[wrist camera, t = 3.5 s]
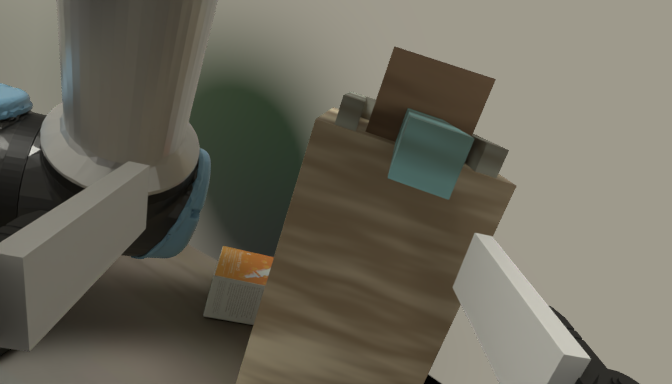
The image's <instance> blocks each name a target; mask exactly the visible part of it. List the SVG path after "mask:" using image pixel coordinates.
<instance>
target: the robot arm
mask: <svg viewBox="0 0 672 384" xmlns="http://www.w3.org/2000/svg"><path fill="white" fill-rule="evenodd" d="M56 2H57V18H58V34H59V52H60V68H61V85H62V102H61V103H59V104H58V105H57V106H55V107H54V108H53V109H52V110H51V111H50V112H49V113H48V115H42V114H38V113H34V112H32V111H31V109H32V106H33V104H32V102H31V101H30V97H29V95H28V94H27V93H26V92H25V91H23V90H21V89H19V88H13V87H11V86H8V85H5V84H1V83H0V355H2V354H3V353H5V352H6V351H7V350H9V349H14V350H21V351H27V352H30V351H31V350H32V349H33V348H34V347H35V346H36V344H37V343H38V342H39V341H40V340H41V339H42V338H43V337H44V336H45V335H46V334H47V333H48V332H49V331H50V330H51V329H52V328H53V327H54V325H55V324H56V323H57V322H58V321H59V320H60V319H61V318H62V317H63V316H64V315H65V314H66V313H67V312H68V311H69V310H70V309H71V307H72V306H73V305H74V304H75V303H76V302H77V301H78V300H79V299H80V298H81V297H82V296H83V295H84V294H85V293H86V292H87V291H88V289H89V288H90V287H91V286H92V285H93V284H94V283H95V282H96V281H97V280H98V279H99V278H100V277H101V276H102V275H103V274H104V273H105V271H106V270H107V269H108V268H109V267H110V266H111V265H112V264H113V263H114V262H115V261H116V260H117V259H118V258H119V257H120V256H121V255H125V256H131V257H132V258H136V259H144V258H147V257H148V258H170V257H173V256H176V255H177V254H179V253H180V252H181V251H182V250H183V249H184V248H185V247H186V246H187V244H188V243H189V241H190V239H191V237H192V235H193V233H194V231H195V229H196V226H197V224H198V221H199V213H200V211H201V209H202V208H203V205H204V202H205V198H206V195H207V190H208V186H209V180H210V169H211V161H210V157H209V154H208V153H207V152H206V151H205V150H203V149H200V147H199V142H198V138H197V135H196V133H195V131H194V129H193V127H192V126H191V125H190V123H189V122H188V121H189V117H190V113H191V108H192V105H193V100H194V96H195V92H196V88H197V84H198V80H199V75H200V71H201V67H202V63H203V59H204V55H205V50H206V47H207V42H208V38H209V34H210V30H211V26H212V22H213V17H214V13H215V9H216V5H217V0H56ZM453 290H454V292H455V294H456V296H457V298H458V300H459V302H460V304H461V306H462V308H463V310H464V312H465V314H466V316H467V318H468V320H469V322H470V324H471V326H472V329H473V331H474V333H475V335H476V337H477V339H478V341H479V343H480V345H481V346H482V349H483V351H484V353H485V355H486V357H487V359H488V361H489V363H490V366H491V368H492V369H493V372H494V373H495V376H496V378H497V380H498V382H499V384H639V383H638V382H636V381H635V380H633V379H632V378H630V377H628V376H626V375H624V374H622V373H620V372H618V371H614V370H610V369H607V368H606V366H605V365H604V364H603V363H602V362H601V360H600V359H599V358H598V357H597V356H596V354H595V353H594V352H593V351H592V350H591V348H590V347H589V346H588V345H587V344H586V342H585V341H584V340H582V338H581V336H580V335H579V334H578V333H577V332H576V331H574V328H573V327H572V326H571V325H570V323H569V322H568V321H567V320H566V318H565V317H563V316H562V315H561V314H560V313H559V312H557V311H556V310H555V309H554V308H552V307H551V306H548V305H547V304H546V302H545V301H544V300H543V299H542V298H541V296H540V295H539V294H538V293H537V291H536V290H535V289H534V288H533V286H532V285H531V284H530V283H529V281H528V280H527V279H526V278H525V276H524V275H523V274H522V273H521V271H520V270H519V269H518V268H517V267H516V265H515V264H514V263H513V262H512V260H511V259H510V258H509V257H508V255H507V254H506V253H505V252H504V250H503V249H502V248H501V247H500V245H499V244H498V243H497V242H496V241H495V239H494V238H493V237H492V236H489V235H484V234H479V233H474V236H473V238H472V241H471V243H470V245H469V248H468V250H467V253H466V255H465V258H464V260H463V263H462V265H461V268H460V270H459V273H458V275H457V277H456V280H455V282H454V285H453Z"/></svg>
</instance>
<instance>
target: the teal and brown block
mask: <svg viewBox="0 0 672 384" xmlns="http://www.w3.org/2000/svg"><path fill="white" fill-rule="evenodd" d="M494 82H495V79H493V78H490V77H487V76H484V75H481V74H478V73H474V72H471V71H468V70H465V69H462V68H459V67H456V66H453V65H450V64H447V63H443V62H441V61H437V60H434V59H431V58H428V57H425V56H422V55H419V54H416V53H413V52H410V51H406V50H404V49H400V48H398V47H394V49H393V52H392V55H391V58H390V61H389V64H388V67H387V70H386V73H385V76H384V79H383V82H382V85H381V88H380V91H379V93H378V96H377V99H376V102H375V105H374V108H373V111H372V114H371V117H370V120H369V123H368V125H367V128H366V131H365V132H368V133H371V134H374V135H376V136H379V137H382V138H385V139H388V140H391V141H394V142H395V146H394V150H393V155H392V160H391V164H390V169H389V174H388V179H391V180H394V181H397V182H400V183H403V184H405V185H408V186H411V187H414V188H417V189H419V190H422V191H425V192H428V193H431V194H434V195H436V196H439V197H442V198H445V199H448V200H449V198H450V196H451V193H452V191H453V189H454V186H455V184H456V182H457V179H458V177H459V175H460V172H461V170H462V167H463V165H464V163H465V160H466V158H467V156H468V153H469V151H470V149H471V146H472V144H473V142H474V139H475V138H473V137H472V134H473V132H474V129H475V127H476V125H477V122H478V120H479V117H480V115H481V113H482V110H483V108H484V106H485V103H486V101H487V99H488V96H489V94H490V91H491V89H492V87H493V84H494Z"/></svg>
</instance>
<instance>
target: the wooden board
mask: <svg viewBox="0 0 672 384" xmlns="http://www.w3.org/2000/svg"><path fill="white" fill-rule="evenodd" d="M375 102H376V100H375V99H372V98H369V97H366V96H362V95H360V94H357V93H354V92H350V93H347V94H345V95H344V96H343V99H342V102H341V105H340V108H339V109H337V108H334V107H333V108H332V109H330V110H329V111H327V112H326V113H324V114H323V115H321V116H320V117H318V118H317V119H316V120H315V123H314V127H313V130H312V133H311V136H310V140H309V143H308V146H307V150H306V153H305V156H304V160H303V163H302V166H301V170H300V173H299V176H298V180H297V183H296V186H295V189H294V193H293V196H292V199H291V203H290V206H289V209H288V213H287V216H286V219H285V222H284V226H283V229H282V232H281V236H280V239H279V242H278V246H277V249H276V252H275V256H274V259H273V262H272V265H271V269H270V272H269V275H268V279H267V282H266V285H265V289H264V292H263V295H262V298H261V302H260V305H259V308H258V312H257V315H256V318H255V322H254V325H253V328H252V332H251V335H250V338H249V341H248V345H247V348H246V351H245V355H244V358H243V361H242V365H241V368H240V371H239V375H238V378H237V381H236V384H424V382H425V379H426V377H427V375H428V373H429V371H430V369H431V367H432V364H433V362H434V360H435V358H436V356H437V354H438V351H439V350H440V348H441V345H442V343H443V341H444V339H445V337H446V335H447V333H448V330H449V328H450V326H451V324H452V322H453V320H454V318H455V316H456V313H457V311H458V309H459V307H460V305H461V304H460V302H459V300H458V298H457V296H456V294H455V292H454V290H453V285H454V282H455V280H456V277H457V275H458V273H459V270H460V268H461V265H462V263H463V260H464V258H465V255H466V253H467V250H468V248H469V245H470V243H471V241H472V238H473V236H474V233H479V234H484V235H489V236H492V237H493V235H494V233H495V231H496V228H497V226H498V224H499V222H500V220H501V218H502V215H503V213H504V211H505V209H506V207H507V205H508V203H509V201H510V198H511V197H512V194H513V192H514V190H515V188H516V185H514V184H513V183H511V182H510V181H508V180H507V179H505V178H504V177H502V176H501V175H500V174H498V173H499V171H500V169H501V167H502V164H503V162H504V160H505V158H506V156H507V153H508V151H509V150H507V149H505V148H503V147H500V146H498V145H496V144H494V143H492V142H490V141H488V140H485V139H483V138H481V137H479V136H477V135H475V134H472V137H473V138H475V139H474V142H473V144H472V146H471V149H470V151H469V153H468V156H467V158H466V160H465V163H464V165H463V167H462V170H461V172H460V175H459V177H458V179H457V182H456V184H455V186H454V189H453V191H452V193H451V196H450V198H449V200H448V199H445V198H442V197H439V196H436V195H434V194H431V193H428V192H425V191H422V190H419V189H417V188H414V187H411V186H408V185H405V184H403V183H400V182H397V181H394V180H391V179H388V174H389V169H390V164H391V160H392V155H393V150H394V146H395V142H394V141H391V140H388V139H385V138H382V137H379V136H376V135H374V134H371V133H368V132H365V131H366V128H367V125H368V123H369V120H370V117H371V114H372V111H373V108H374V105H375Z"/></svg>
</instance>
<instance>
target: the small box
mask: <svg viewBox="0 0 672 384" xmlns="http://www.w3.org/2000/svg"><path fill="white" fill-rule="evenodd" d="M273 259H274V257H270V256H266V255H261V254H256V253H252V252H248V251H243V250H239V249H234V248H230V247H225V246H223V247H222V251H221V254H220V257H219V260H218V263H217V266H216V269H215V272H214V275H213V279H212V283H211V287H210V291H209V295H208V298H207V302H206V306H205V310H204V314H203V316H204V317H210V318H216V319H221V320H227V321H233V322H238V323H244V324H250V325H254V322H255V318H256V315H257V312H258V308H259V305H260V302H261V298H262V295H263V292H264V289H265V285H266V282H267V279H268V275H269V272H270V269H271V265H272V262H273Z"/></svg>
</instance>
